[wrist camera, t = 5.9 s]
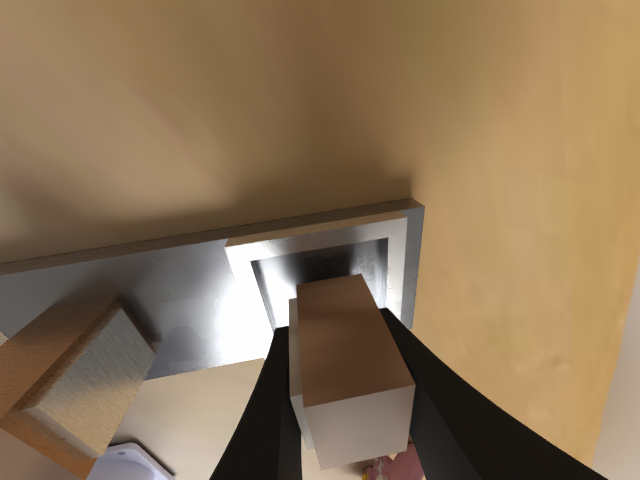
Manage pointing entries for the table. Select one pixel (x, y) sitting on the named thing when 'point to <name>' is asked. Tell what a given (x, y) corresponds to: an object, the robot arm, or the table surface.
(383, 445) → the wooden block
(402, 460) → the video game controller
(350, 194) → the table surface
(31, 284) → the grey holder base
